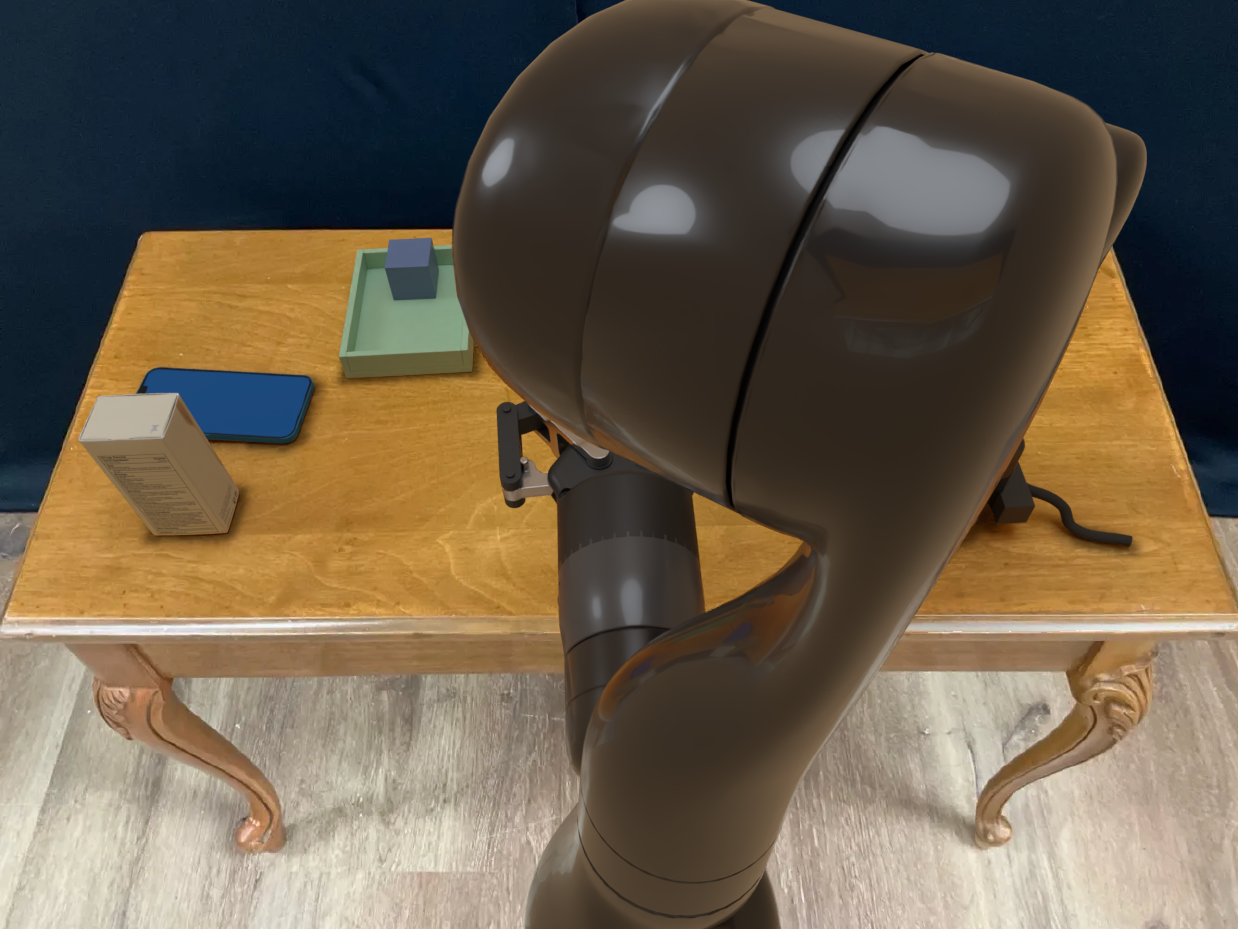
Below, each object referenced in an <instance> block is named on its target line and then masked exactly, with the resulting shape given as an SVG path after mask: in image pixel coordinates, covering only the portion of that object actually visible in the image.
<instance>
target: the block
mask: <svg viewBox="0 0 1238 929" xmlns="http://www.w3.org/2000/svg"><path fill="white" fill-rule="evenodd" d="M434 246H435V244H434V242H433V238H432V237H418V238H414V237H413V238H394V239H389V240H388V244H387V248H388V250H387V256H386V263H385V271H386V275H387V278H388V282H389V285H390V289H391V292H392V296H393V300H411V299H434V298H436V293H437V284H438V275H439V268H438V263H437V259H436V254H435V250H434Z"/></svg>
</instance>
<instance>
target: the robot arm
mask: <svg viewBox="0 0 1238 929" xmlns="http://www.w3.org/2000/svg"><path fill="white" fill-rule="evenodd" d="M1147 156H1148V155H1147V147H1146V144H1145V141H1144V140H1143V139H1142V137H1141V136H1140V135H1139V134H1137V133H1135V132H1133V131H1131V130H1129V129H1126V128H1123V127H1120V126H1117V125H1113V124H1111V123H1107V122H1105V120H1104V119H1103V117H1102V116H1100V114H1098V112H1097V111H1095V110H1094V109H1093V108H1092V107H1091V106H1090V105H1089V104H1087V103H1085V102H1084V101H1081V100H1079V99H1078V98H1076V97H1074V96H1072V95H1070V94H1067V93H1065V92H1063V91H1060V90H1057V89H1054V88H1052V87H1049V86H1047V85H1044V84H1041V83H1039V82H1037V81H1034V80H1031V79H1027V78H1024V77H1020V76H1017V75H1014V74H1010V73H1006V72H1004V71H1000V70H997V69H994V68H991V67H987V66H983V65H980V64H977V63H973V62H970V61H967V60H963V59H960V58H957V57H953V56H951V55H946V54H944V53H939V52H928V51H926V50H923V49H921V48H916V47H914V46H910V45H907V44H903V43H899V42H896V41H892V40H888V39H886V38H881V37H878V36H874V35H871V34H867V33H863V32H859V31H856V30H852V29H849V28H844V27H841V26H837V25H834V24H831V23H827V22H824V21H820V20H816V19H812V18H809V17H805V16H802V15H798V14H794V13H790V12H787V11H783V10H780V9H776V8H775V7H773V6H771V5H767V4H763V3H759V2H755V1H751V0H623V1H620V2H618V3H616V4H613V5H611V6H610V7H607V8H605V9H602V10H600V11H597V12H596V13H593V14H591V15H589V16H588V17H586V18H585V19H583V20H582V21H580V22H579V23H577V24H576V25H574V26H573V27H572V28H570V29H569V30H568V31H566V32H565V33H563V34H561V36H559V37H557V38H556V39H554V40H553V41H552V42H550V43H549V44H548V45H547V47H546V48H544V49H543V51H541V53H539V54H538V56H537V57H536V58H535V59H534V60H533V61H532V62H531V63H530V64H528V66H526V68H525V69H524V70H523V71H521V73H519V75H518V76H517V77H516V79H514V81H513V83H512V84H511V85H510V87H509V89H507V91H506V93H504V95H503V97H501V99H500V101H499V102H498V104H497V106H496V107H495V108H494V110H493V111H492V112H491V114H490V115H489V117H488V118H487V121H486V123H485V125H484V127H483V129H482V131H481V134H480V136H479V138H478V140H477V142H476V144H475V146H474V148H473V150H472V152H471V154H470V156H469V158H468V161H467V163H466V167H465V170H464V173H463V174H464V175H463V177H462V181H461V185H460V189H459V193H458V196H457V199H456V202H455V206H454V211H453V212H454V214H453V220H452V228H451V229H452V230H451V245H452V259H453V267H454V275H455V284H456V292H457V297H458V300H459V303H460V306H461V309H462V312H463V315H464V318H465V321H466V324H467V327H468V330H469V332H470V334H471V336H472V338H473V340H474V344H475V346H476V347H477V349H478V350H479V352H480V353H481V355H482V356H483V358H484V360H485V362H487V365H488V366H489V367H490V368H491V370H492V371H493V372H494V373H495V374H496V375H497V376H498V377H499V379H500V380H501V381H502V382H503V383H504V385H506V386H507V387H508V388H509V389H510V390H512V391H513V392H514V393H515V394H516V395H518V396H519V397H520V398H521V399H522V400H523V401H522V402H518V403H517V404H516V403H514V402H511V401H504V402H501V403H500V404H498V406H497V407H496V430H497V451H498V452H497V453H498V473H499V474H498V476H499V481H500V485H501V486H500V487H501V491H502V496H503V500H504V503H505V505H506V506H507V508H511V509H518V508H519V509H520V508H521V507H523V506H524V505H525V503H526V499H527V498H537V497H538V498H539V497H545V496H550V497H551V498H552V499H553V501H554V502H555V504H556V526H557V529H556V530H557V531H556V532H557V583H558V584H557V594H558V595H557V607H558V609H557V610H558V626H559V633H560V638H561V639H560V640H561V644H562V650H563V662H564V663H563V664H564V665H563V666H564V711H565V712H564V718H565V722H564V723H565V724H564V725H565V747H566V754H567V758H568V763H569V765H570V767H571V769H572V771H573V772H574V773H575V774H576V776H578V777H579V787H578V800H577V802H576V803H575V805H574V807H573V808H572V809H571V810H570V812H569V813H568V814H567V816H566V817H565V818H564V819H563V821H562V822H561V823H560V824H559V826H558V827H557V829H556V830H555V832H554V833H553V834H552V835H551V837H550V839H549V841H548V843H547V844H546V846H545V848H544V850H543V852H542V853H541V855H540V857H539V860H538V863H537V865H536V867H535V870H534V872H533V876H532V879H531V882H530V886H529V890H528V894H527V899H526V905H525V912H524V929H782V925H781V924H782V922H781V917H780V916H781V915H780V910H779V904H778V900H777V896H776V893H775V889H774V886H773V883H772V880H771V878H770V875H769V871H768V870H767V865H768V863H769V861H770V858H771V856H772V853H773V850H774V849H775V846H776V843H777V841H778V839H779V836H780V834H781V831H782V828H783V825H784V824H785V820H786V818H787V815H788V813H789V810H790V808H791V805H792V803H793V801H794V798H795V796H796V794H797V792H798V790H799V789H800V786H801V784H802V783H803V781H804V779H805V777H806V776H807V774H808V773H809V771H810V769H811V768H812V766H813V764H814V762H816V759H817V758H818V757H819V756H820V754H821V752H822V751H823V750H824V748H825V747H826V745H827V744H828V743H829V741H830V740H831V739H832V738H833V736H834V735H835V733H836V732H837V730H839V728H840V727H841V726H842V724H843V723H844V721H845V720H846V719H847V718H848V716H849V715H850V713H851V712H852V711H853V709H854V708H855V706H857V704H858V702H859V701H860V700H861V698H862V697H863V695H864V693H865V692H866V690H867V689H868V688H869V687H870V685H871V683H872V682H873V681H874V679H875V678H876V676H877V674H878V673H879V671H880V670H881V668H882V667H883V666H884V664H885V663H886V661H887V660H888V658H889V657H890V655H891V654H892V652H893V651H894V649H895V648H896V646H897V645H898V644H899V642H900V640H901V638H902V637H903V635H904V634H905V632H906V631H907V629H908V627H909V626H910V624H911V623H912V621H913V619H914V618H915V616H916V615H917V613H918V612H919V611H920V609H921V607H922V606H923V604H924V603H925V601H926V599H927V598H928V596H929V595H930V593H931V592H932V590H933V589H934V587H935V586H936V585H937V583H938V581H939V579H940V578H941V577H942V575H943V574H944V572H945V571H946V569H947V568H948V566H949V564H950V563H951V561H952V559H953V558H954V556H955V555H956V553H957V551H958V550H959V548H960V546H961V545H962V543H963V541H964V540H965V538H966V537H967V535H968V534H969V532H970V531H971V529H972V528H973V527H974V526H975V525H976V524H980V523H981V524H983V523H987V522H989V521H990V519H991V517H993V518H994V522H995V524H996V525H1010V524H1011V525H1013V524H1026V523H1027V522H1028V520H1029V518H1030V517H1031V515H1032V513H1033V511H1034V510H1035V508H1036V503H1035V501H1034V498H1035V499H1038V500H1041V501H1043V502H1046V503H1047V504H1049V505H1052V506H1053V507H1054V508H1055V509H1057V510H1058V512H1059V515H1060V520H1061V523H1062V525H1063V527H1064V528H1065V529H1066V530H1067V531H1068V532H1069V533H1071V534H1073V535H1074V536H1076V537H1078V538H1080V539H1083V540H1085V541H1089V542H1095V543H1099V544H1100V543H1102V544H1111V545H1119V546H1123V547H1130V546H1131V545H1132V543H1133V536H1132V535H1129V534H1123V533H1115V532H1108V531H1100V530H1094V529H1089V528H1088V527H1087V528H1086V527H1084V526H1082V525H1080V524H1079V523H1077V522H1075V519H1074V516H1073V511H1072V508H1071V507H1070V505H1069V504H1068V502H1067V501H1066V500H1064V499H1063V498H1062V497H1061V496H1060V495H1058V494H1056V493H1054V492H1052V491H1050V490H1047V489H1045V488H1042V487H1039V486H1036V485H1033V484H1031V483H1028V482H1027V480H1026V477H1025V475H1024V472H1023V469H1022V467H1021V464H1020V459H1021V457H1022V455H1023V453H1024V451H1025V449H1026V442H1025V441H1026V440H1025V439H1024V437H1025V436H1026V434H1027V432H1028V430H1029V429H1030V426H1031V424H1032V422H1033V421H1034V419H1035V417H1036V415H1037V413H1038V411H1039V409H1040V407H1041V405H1042V403H1043V401H1044V399H1045V397H1046V395H1047V392H1048V390H1049V388H1050V386H1051V384H1052V382H1053V380H1054V377H1055V376H1056V373H1057V371H1058V369H1059V367H1060V365H1061V363H1062V361H1063V358H1064V357H1065V354H1066V352H1067V350H1068V348H1069V346H1070V343H1071V341H1072V339H1073V337H1074V335H1075V332H1076V331H1077V327H1078V324H1079V322H1080V319H1081V317H1082V314H1083V312H1084V310H1085V307H1086V304H1087V301H1088V299H1089V296H1090V293H1091V291H1092V288H1093V286H1094V283H1095V280H1096V278H1097V275H1098V273H1099V270H1100V268H1101V267H1102V264H1103V263H1104V261H1105V259H1106V257H1107V256H1108V254H1109V252H1110V251H1111V249H1112V247H1113V245H1114V244H1115V242H1116V240H1117V238H1118V236H1119V235H1120V233H1121V231H1122V229H1123V227H1124V225H1125V223H1126V221H1127V220H1128V218H1129V216H1130V214H1131V212H1132V210H1133V208H1134V206H1135V203H1136V200H1137V198H1138V196H1139V193H1140V191H1141V188H1142V185H1143V182H1144V178H1145V174H1146V171H1147V170H1146V169H1147V164H1148V163H1147V160H1148V158H1147ZM532 432H534V433H535V434H536V435H537V436H538V437H539V438H540V439H541V440H542V441H543V442H544V443H545V444H546V445H547V446H548V447H549V448H550V450H551V452H552V454H553V455H554V457H555V458H556V459H555V460H554V462H553V463H552V464H551V465H550V467H549V469H548V471H547V472H542V471H540V470H539V469H538V468H537V465H536V463H535V462H534V460H532V459H529V457H527V456H526V455H525V456H524V453H523V437H522V436H523V435H526V434H529V433H532ZM694 493H695V494H696V495H698V496H700V497H703V498H705V499H707V500H709V501H711V502H713V503H715V504H717V505H720V506H721V507H723V508H726V509H728V510H729V511H732V512H734V513H736V514H738V515H740V516H741V517H743V518H744V519H747V520H748V521H750V522H752V523H755V524H756V525H759V526H760V527H764V528H766V529H768V530H771V531H773V532H776V533H778V534H780V535H784V536H788V537H791V538H795V539H797V540H800V541H802V542H801V543H800V545H799V547H798V548H797V549H796V551H795V552H794V554H793V555H792V556H791V557H790V558H789V559H788V560H787V561H786V562H785V563H784V564H783V566H781V567H780V568H779V569H778V570H776V571H775V572H774V573H773V574H771V575H769V576H768V577H767V578H765V579H763V580H762V581H761V582H759V583H757V584H756V585H754V586H752V587H751V588H750V589H747V591H745V592H744V593H741V594H739V595H738V596H736V597H734V598H731V599H730V600H727V601H726V602H724V603H722V604H720V605H718V606H716V607H714V608H711V609H709V610H707V611H706V601H705V600H706V599H705V593H704V585H703V575H702V569H701V558H700V549H699V541H698V533H697V524H696V515H695V508H694V499H693V496H694Z"/></svg>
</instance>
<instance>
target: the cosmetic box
mask: <svg viewBox="0 0 1238 929" xmlns="http://www.w3.org/2000/svg"><path fill="white" fill-rule="evenodd" d="M77 440H78V442H79V443H80V444H81V446H82V447H83V448H84V449H85V451H86V452H87V453H88V454H89V455H90V457H91V458H92V459H93V461H94V462H95V463H96V464H97V466H98V467H99V468H100V469H101V471H102V472H103V473H104V474H105V476H106V477H107V479H108V480H109V481H110V482H111V484H112V485H113V486H114V487H115V489H117V491H118V492H119V493H120V494H121V496H122V497H123V498H124V500H125V501H126V502H127V503H128V505H129V506H130V507H131V508H132V510H133V511H134V513H135V514H136V515H137V516H138V517H139V519H140V520H141V521H142V522H143V523H144V525H145V527H147V529H148V530H149V531H150V533H151V534H152V535H154V536H192V535H193V536H195V535H196V536H197V535H215V534H226V533H228V532H229V530H230V526H231V524H232V521H233V517H234V513H235V510H236V507H237V503H238V499H239V496H240V495H239V494H240V489H239V488H238V486H237V485H236V483H235V481H234V480H233V478H232V477H231V474H230V473H229V471H228V470H227V468H226V467H225V465H224V464H223V462H222V460H221V459H220V457H219V456H218V454H217V452H216V450H215V449H214V448H213V446H212V445H211V442H210V441H209V439H207V438H206V436H205V435H204V433H203V432H202V430H201V428H200V427H199V425H198V424H197V422H196V420H195V419H194V417H193V416H192V414H191V413H190V411H189V409H188V408H187V406H186V405H185V403H184V401H183V400H182V398H181V397H180V395H179V394H178V393H147V394H136V393H127V394H125V393H124V394H111V395H98V396H97V397H96V399H95V401H94V403H93V406H92V407H91V410H90V411H89V413H88V416H87V419H86V421H85V423H84V425H83V427H82V429H81V431H80V434H79V436H78V438H77Z"/></svg>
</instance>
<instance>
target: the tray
mask: <svg viewBox="0 0 1238 929" xmlns="http://www.w3.org/2000/svg"><path fill="white" fill-rule="evenodd" d="M387 250H388V247H379V248H361V249H360V248H358V249H356V255H355V261H354V267H353V272H352V278H351V283H350V284H351V285H350V290H349V296H348V302H347V307H346V313H345V319H344V324H343V329H342V330H343V331H342V336H341V342H340V349H339V353H338V358H339V361H340V364H341V367H342V369H343V373H344V375H345V378H346V379H360V378H362V379H363V378H381V377H399V376H419V375H435V374H454V373H455V374H456V373H472V372H473V365H474V348H475V347H474V346H475V342H474V340H473V338H472V336H471V334H470V332H469V330H468V327H467V324H466V321H465V318H464V315H463V312H462V309H461V306H460V303H459V300H458V297H457V292H456V284H455V275H454V267H453V259H452V244H439V245H435V244H434V250H435V254H436V259H437V263H438V268H439V275H438V284H437V293H436V298H434V299H411V300H393V296H392V292H391V289H390V285H389V282H388V278H387V275H386V271H385V263H386V256H387Z"/></svg>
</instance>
